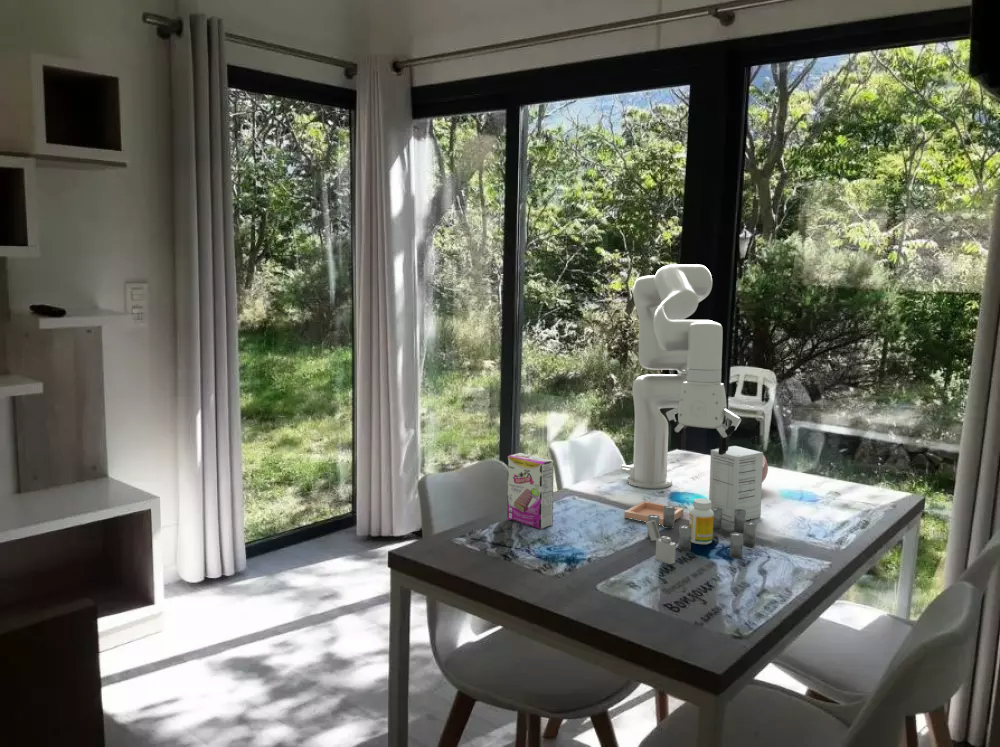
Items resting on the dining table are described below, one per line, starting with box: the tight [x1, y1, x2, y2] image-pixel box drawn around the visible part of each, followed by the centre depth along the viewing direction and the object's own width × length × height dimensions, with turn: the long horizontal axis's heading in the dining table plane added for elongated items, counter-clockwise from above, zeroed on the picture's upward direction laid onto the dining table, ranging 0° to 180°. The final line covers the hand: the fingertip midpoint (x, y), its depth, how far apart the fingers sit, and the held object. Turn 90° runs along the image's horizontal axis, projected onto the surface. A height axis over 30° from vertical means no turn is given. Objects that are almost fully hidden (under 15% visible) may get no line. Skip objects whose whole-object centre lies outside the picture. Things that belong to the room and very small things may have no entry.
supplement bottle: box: [688, 497, 714, 545], centre depth 189 cm, size 5×5×10 cm
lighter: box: [645, 520, 677, 565], centre depth 178 cm, size 7×2×8 cm, turn 40°
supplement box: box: [708, 445, 764, 523], centre depth 207 cm, size 10×9×17 cm
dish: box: [624, 500, 685, 525], centre depth 207 cm, size 11×11×2 cm
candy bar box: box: [506, 452, 555, 530], centre depth 201 cm, size 11×5×16 cm, turn 47°
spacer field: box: [646, 504, 757, 560], centre depth 191 cm, size 23×22×5 cm
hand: (701, 451), depth 188 cm, fingers open, 9 cm apart
